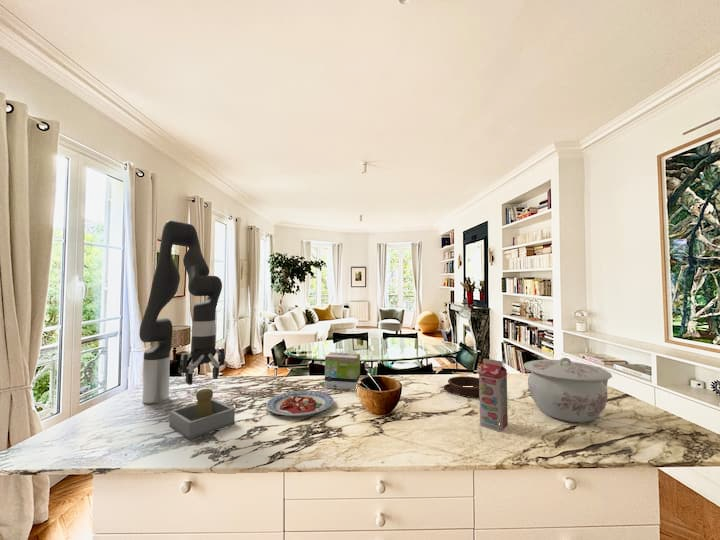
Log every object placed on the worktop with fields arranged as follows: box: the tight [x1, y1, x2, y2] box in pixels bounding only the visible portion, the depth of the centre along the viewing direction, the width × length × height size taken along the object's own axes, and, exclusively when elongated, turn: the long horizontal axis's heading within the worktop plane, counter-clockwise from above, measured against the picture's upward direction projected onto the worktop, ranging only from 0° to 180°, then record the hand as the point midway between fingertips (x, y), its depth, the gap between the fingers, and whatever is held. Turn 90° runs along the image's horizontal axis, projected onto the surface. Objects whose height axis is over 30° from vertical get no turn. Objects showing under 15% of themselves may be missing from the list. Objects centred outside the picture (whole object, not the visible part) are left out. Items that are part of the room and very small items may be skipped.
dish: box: [443, 376, 479, 397], centre depth 143 cm, size 18×22×5 cm
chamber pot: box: [523, 357, 613, 423], centre depth 119 cm, size 28×28×21 cm
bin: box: [168, 398, 236, 440], centre depth 110 cm, size 15×15×5 cm
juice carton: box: [478, 357, 509, 433], centre depth 110 cm, size 7×7×22 cm
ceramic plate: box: [265, 390, 334, 417], centre depth 127 cm, size 26×26×3 cm
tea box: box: [324, 352, 361, 391], centre depth 152 cm, size 15×10×15 cm, turn 80°
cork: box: [195, 388, 214, 420], centre depth 111 cm, size 6×6×11 cm
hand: (202, 381), depth 111 cm, fingers open, 8 cm apart
